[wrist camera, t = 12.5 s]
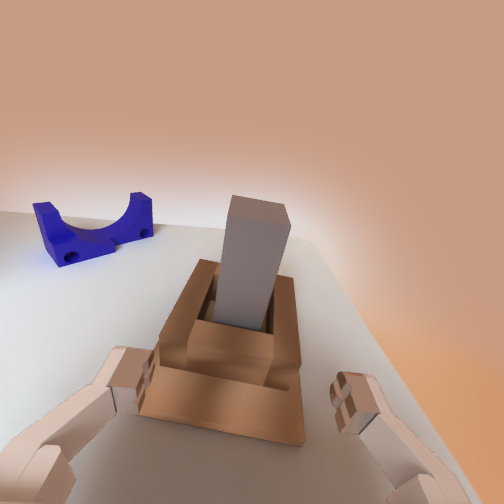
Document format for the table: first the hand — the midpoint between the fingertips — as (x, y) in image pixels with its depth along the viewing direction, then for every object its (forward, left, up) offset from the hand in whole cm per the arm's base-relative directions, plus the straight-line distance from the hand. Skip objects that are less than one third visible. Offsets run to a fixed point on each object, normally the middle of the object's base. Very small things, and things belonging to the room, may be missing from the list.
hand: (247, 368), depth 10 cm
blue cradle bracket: (-20, +20, -9) cm, 29 cm away
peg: (-1, +9, -8) cm, 12 cm away
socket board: (-1, +9, -9) cm, 13 cm away
